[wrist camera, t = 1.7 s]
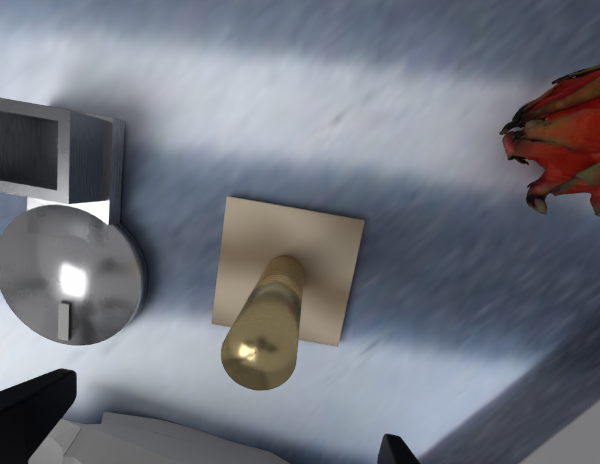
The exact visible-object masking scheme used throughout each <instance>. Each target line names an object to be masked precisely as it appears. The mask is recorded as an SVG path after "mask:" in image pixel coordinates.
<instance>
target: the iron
mask: <svg viewBox="0 0 600 464" xmlns="http://www.w3.org/2000/svg"><path fill="white" fill-rule="evenodd" d="M28 464H290V463H289V462H287V461H285V460H283V459H282V458H280V457H278V456H276V455H275V454H273V453H271V452H269V451H265V450H261V449H258V448H254V447H250V446H246V445H243V444H239V443H235V442H231V441H228V440H225V439H222V438H220V437H217V436H214V435H211V434H208V433H205V432H202V431H199V430H196V429H193V428H190V427H186V426H183V425H179V424H175V423H171V422H168V421H164V420H160V419H153V418H145V417H138V416H131V415H124V414H117V413H109V412H104V413H103V417H102V422H101V424H82V423H77V422H73V421H68V420H63V419H60V421H59V422H58V423H57V425H56V426H55V427H54V428H53V430H52V431H51V432H50V433H49V435H48V436H47V437H46V439H45V440H44V441H43V442H42V444H41V445H40V446H39V447H38V449H37V450H36V451H35V453H34V454H33V455H32V456H31V457H30V459H29V462H28Z"/></svg>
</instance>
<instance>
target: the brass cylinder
mask: <svg viewBox="0 0 600 464" xmlns="http://www.w3.org/2000/svg"><path fill="white" fill-rule="evenodd" d="M304 277H305V273H304V268H303V266H302V264H301V263H300V262H299V261H298V260H297V259H296V258H294V257H292V256H288V255H280V256H277V257H275V258H273V259H272V260H270V261H269V263H268V264H267V266H266V267H265V269H264V271H263V273H262V275H261V276H260V278H259V280H258V282H257V283H256V285H255V287H254V289H253V290H252V292H251V294H250V296H249V297H248V299H247V301H246V303H245V304H244V306H243V308H242V310H241V311H240V313H239V315H238V317H237V318H236V320H235V322H234V324H233V326H232V327H231V329H230V331H229V333H228V334H227V336H226V338H225V340H224V342H223V345H222V349H221V359H222V364H223V366H224V369H225V370H226V372H227V374H228V375H229V376H230V377H231V378H232V379H233V380H234V381H235V382H236V383H238V384H239V385H241V386H243V387H246V388H248V389H252V390H270V389H273V388H276V387H278V386H280V385H282V384H283V383H285V382H286V381H287V380H288V379H289V377H290V376H291V375H292V373H293V371H294V369H295V366H296V359H297V349H298V339H299V328H300V318H301V308H302V298H303V287H304Z"/></svg>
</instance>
